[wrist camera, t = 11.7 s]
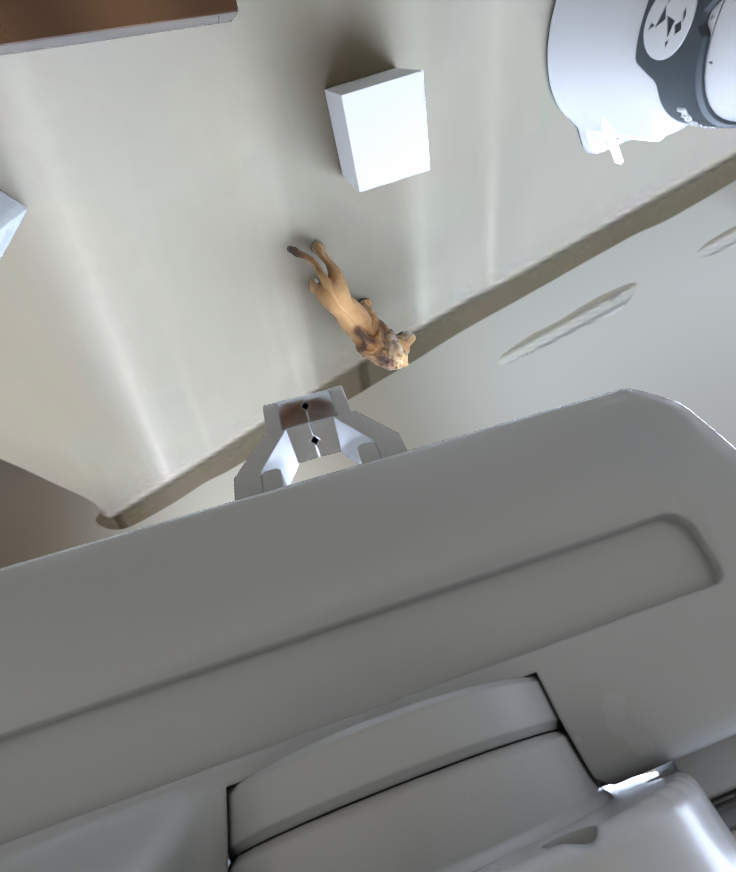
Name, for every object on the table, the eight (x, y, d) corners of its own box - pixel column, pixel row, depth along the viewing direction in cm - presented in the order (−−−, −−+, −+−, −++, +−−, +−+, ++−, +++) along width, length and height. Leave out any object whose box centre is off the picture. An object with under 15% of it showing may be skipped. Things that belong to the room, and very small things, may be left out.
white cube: (405, 156, 36) (430, 170, 32) (342, 176, 36) (359, 193, 31) (395, 67, 31) (423, 70, 27) (323, 89, 31) (341, 95, 27)
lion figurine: (401, 312, 47) (430, 353, 40) (370, 345, 48) (393, 388, 42) (302, 223, 37) (320, 258, 31) (269, 268, 39) (279, 309, 33)
